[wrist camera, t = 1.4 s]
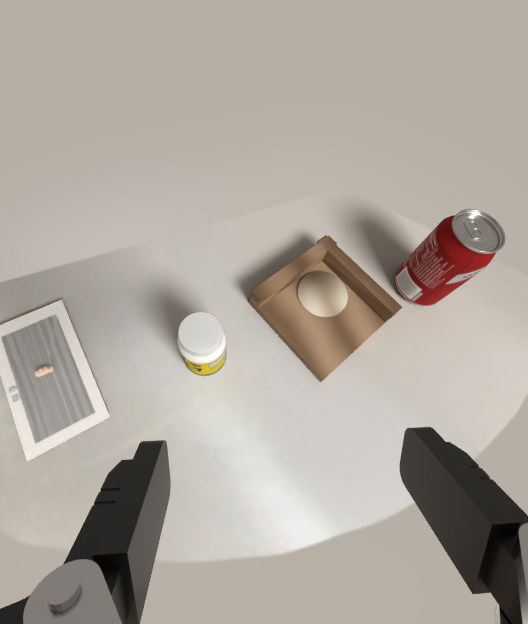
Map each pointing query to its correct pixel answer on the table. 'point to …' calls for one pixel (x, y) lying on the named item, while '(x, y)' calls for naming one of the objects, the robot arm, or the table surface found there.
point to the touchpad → (47, 379)
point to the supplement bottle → (202, 343)
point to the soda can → (450, 256)
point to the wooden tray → (323, 306)
